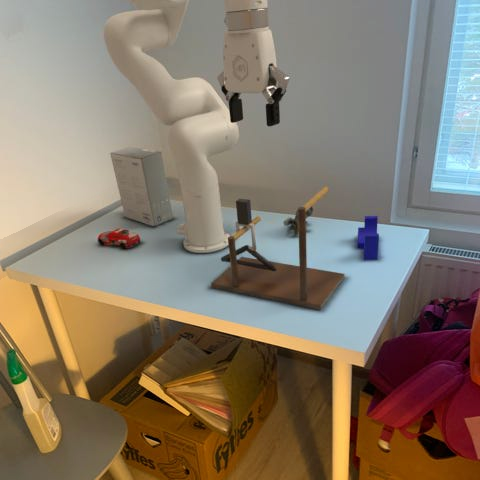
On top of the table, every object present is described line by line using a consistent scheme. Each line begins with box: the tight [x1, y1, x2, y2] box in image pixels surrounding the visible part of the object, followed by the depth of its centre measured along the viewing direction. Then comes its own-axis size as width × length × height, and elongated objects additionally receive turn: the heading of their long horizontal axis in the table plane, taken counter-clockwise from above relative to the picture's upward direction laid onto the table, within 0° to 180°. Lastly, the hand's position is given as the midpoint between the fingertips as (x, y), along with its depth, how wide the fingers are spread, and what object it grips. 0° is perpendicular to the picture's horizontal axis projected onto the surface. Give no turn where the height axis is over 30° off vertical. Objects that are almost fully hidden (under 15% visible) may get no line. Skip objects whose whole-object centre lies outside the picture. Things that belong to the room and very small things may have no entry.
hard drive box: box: [109, 146, 174, 227], centre depth 145 cm, size 16×8×20 cm, turn 46°
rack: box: [210, 186, 345, 311], centre depth 103 cm, size 26×14×21 cm, turn 60°
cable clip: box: [357, 215, 380, 261], centre depth 118 cm, size 12×4×6 cm, turn 168°
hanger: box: [220, 198, 277, 271], centre depth 106 cm, size 14×2×15 cm, turn 60°
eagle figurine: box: [283, 206, 314, 237], centre depth 130 cm, size 8×7×9 cm
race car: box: [97, 228, 141, 250], centre depth 135 cm, size 13×5×4 cm, turn 60°
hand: (254, 123), depth 97 cm, fingers open, 9 cm apart
